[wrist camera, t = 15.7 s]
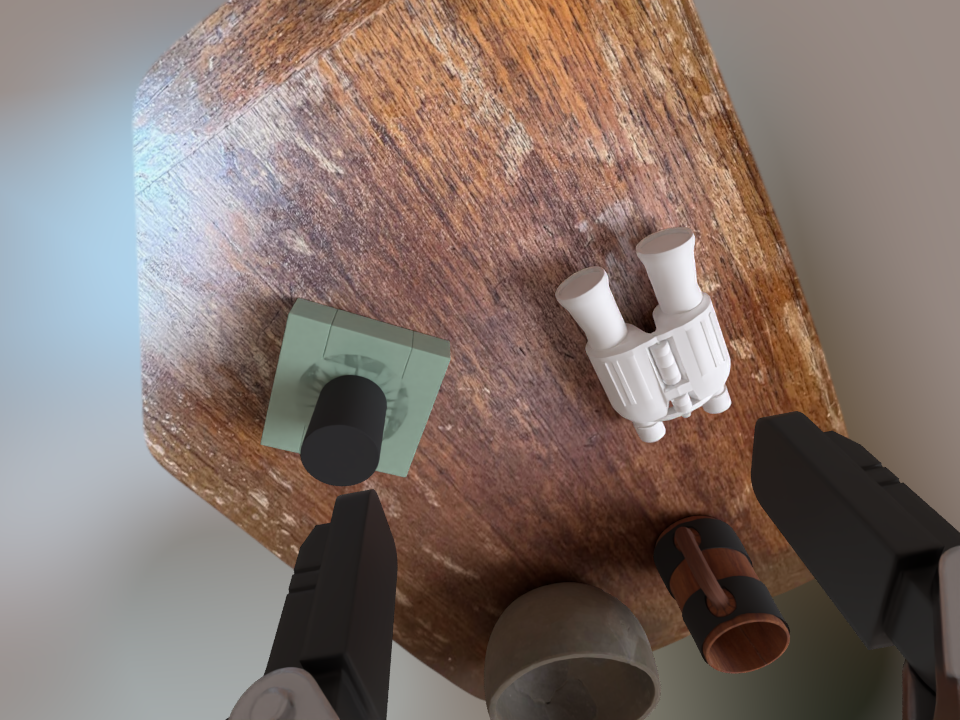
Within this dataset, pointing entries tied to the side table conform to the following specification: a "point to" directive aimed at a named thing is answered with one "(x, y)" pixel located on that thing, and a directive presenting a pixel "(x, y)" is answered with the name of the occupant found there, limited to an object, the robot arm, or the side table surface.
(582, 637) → the bowl
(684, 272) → the binoculars
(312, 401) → the green block with hole
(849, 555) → the robot arm
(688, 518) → the mug
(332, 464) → the stopper
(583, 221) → the side table surface
